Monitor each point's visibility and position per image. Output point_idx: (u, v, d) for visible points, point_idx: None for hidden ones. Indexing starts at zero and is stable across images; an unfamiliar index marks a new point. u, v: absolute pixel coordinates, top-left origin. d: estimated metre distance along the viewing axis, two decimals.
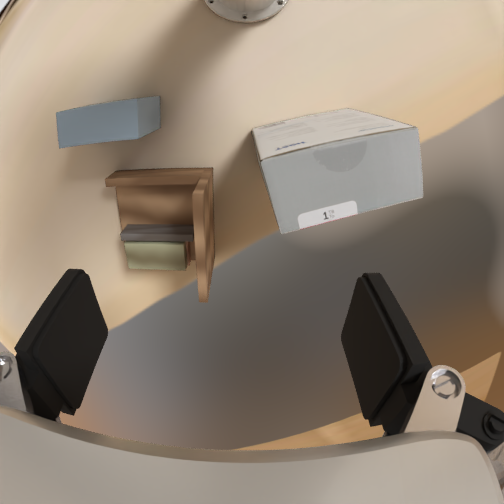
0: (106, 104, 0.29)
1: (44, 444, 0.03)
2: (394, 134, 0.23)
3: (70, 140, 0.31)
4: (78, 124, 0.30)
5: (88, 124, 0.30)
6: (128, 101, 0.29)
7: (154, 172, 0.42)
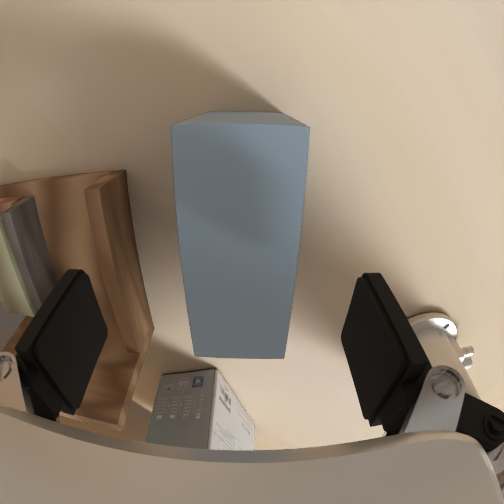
0: (287, 303, 0.14)
1: (44, 444, 0.03)
2: None
3: (196, 176, 0.11)
4: (244, 216, 0.12)
5: (240, 250, 0.12)
6: (282, 345, 0.15)
7: (129, 268, 0.22)
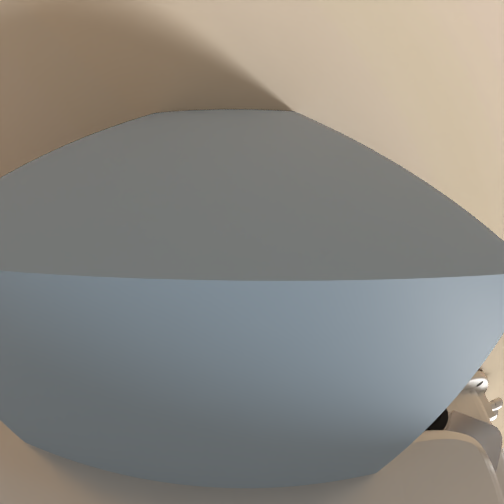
0: None
1: None
2: None
3: (21, 417, 0.02)
4: None
5: None
6: None
7: None
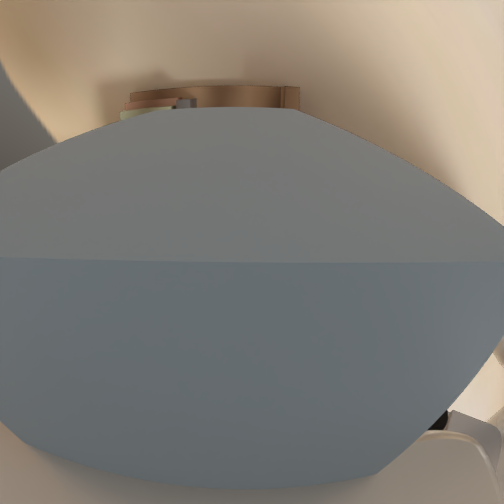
0: None
1: None
2: None
3: (16, 415, 0.02)
4: None
5: None
6: None
7: None
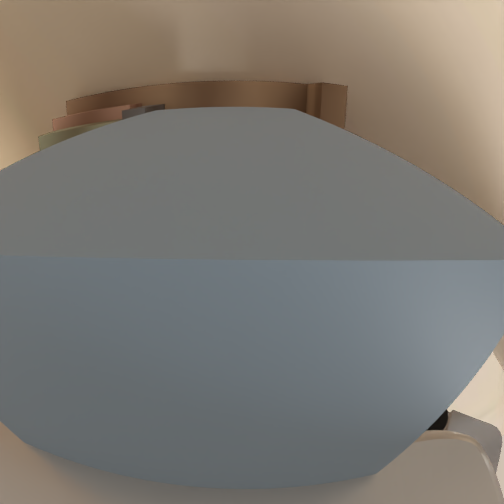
0: None
1: None
2: None
3: (17, 414, 0.02)
4: None
5: None
6: None
7: None
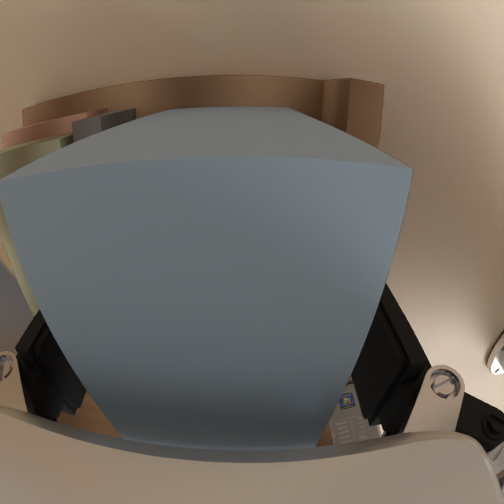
0: None
1: (44, 444, 0.03)
2: None
3: (80, 309, 0.04)
4: (215, 386, 0.05)
5: (213, 423, 0.05)
6: None
7: None
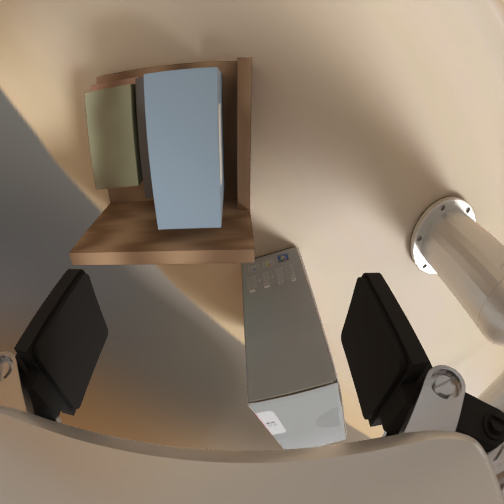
0: (216, 176, 0.21)
1: (44, 444, 0.03)
2: (342, 433, 0.27)
3: (156, 99, 0.17)
4: (184, 119, 0.18)
5: (182, 140, 0.19)
6: (217, 214, 0.22)
7: None
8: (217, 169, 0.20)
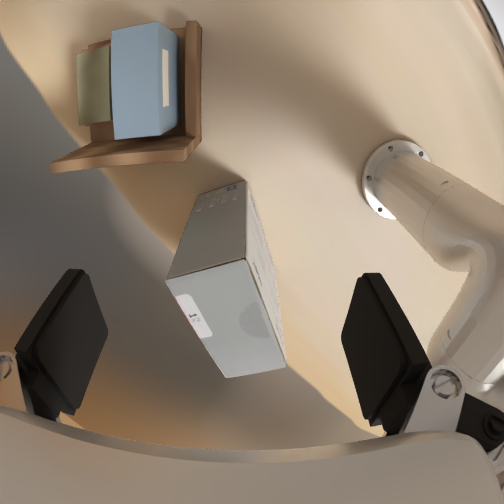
0: (156, 95, 0.24)
1: (44, 444, 0.03)
2: (278, 354, 0.30)
3: (118, 46, 0.21)
4: (135, 57, 0.22)
5: (134, 71, 0.23)
6: (157, 124, 0.26)
7: (198, 77, 0.31)
8: (157, 90, 0.24)
